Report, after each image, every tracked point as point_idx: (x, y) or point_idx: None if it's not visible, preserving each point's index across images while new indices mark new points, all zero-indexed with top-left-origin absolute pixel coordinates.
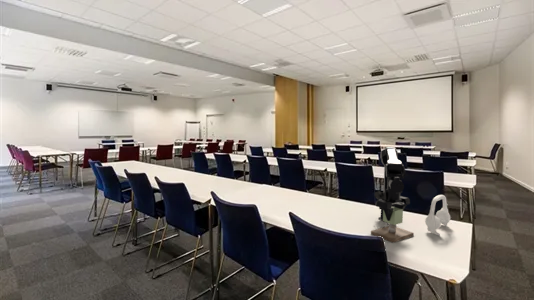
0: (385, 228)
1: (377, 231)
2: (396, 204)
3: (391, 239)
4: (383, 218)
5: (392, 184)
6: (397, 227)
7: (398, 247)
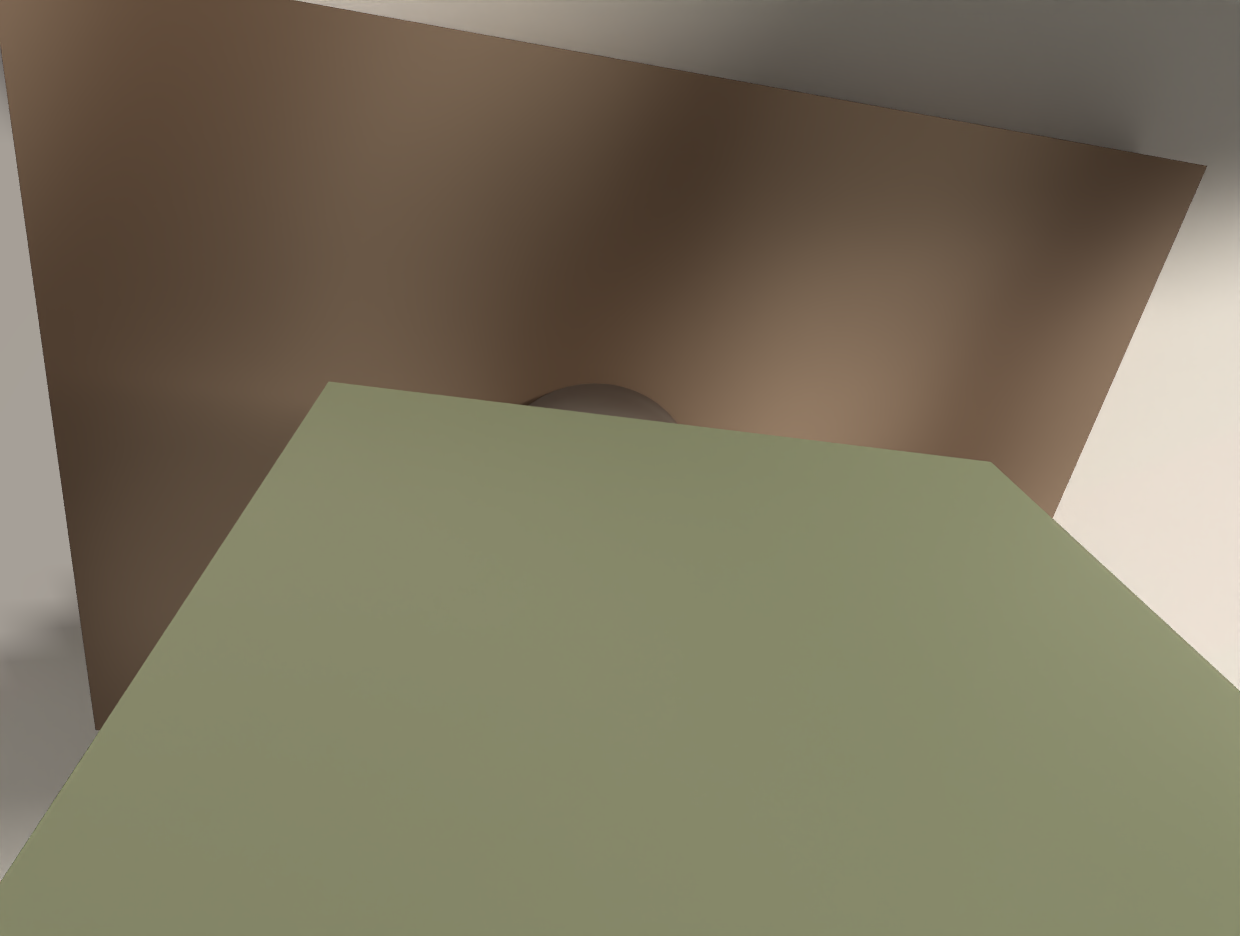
0: (722, 199)
1: (187, 168)
2: None
3: (96, 686)
4: (281, 485)
5: None
6: (1088, 401)
7: (31, 825)
